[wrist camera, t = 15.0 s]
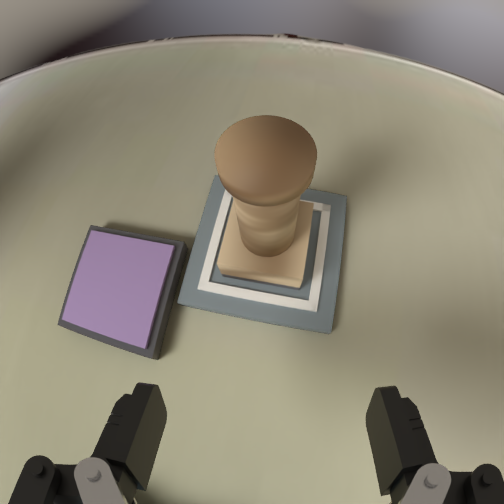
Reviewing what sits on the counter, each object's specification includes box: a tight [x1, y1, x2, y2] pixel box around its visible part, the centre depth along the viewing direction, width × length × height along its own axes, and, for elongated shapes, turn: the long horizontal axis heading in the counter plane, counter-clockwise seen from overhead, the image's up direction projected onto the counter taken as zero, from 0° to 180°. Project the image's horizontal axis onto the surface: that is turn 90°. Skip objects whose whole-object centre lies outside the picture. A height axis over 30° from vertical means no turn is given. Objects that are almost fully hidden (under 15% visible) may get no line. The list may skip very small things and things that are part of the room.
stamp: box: [214, 115, 317, 290], centre depth 16 cm, size 5×5×10 cm
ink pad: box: [58, 225, 188, 360], centre depth 20 cm, size 8×8×2 cm
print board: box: [177, 175, 347, 334], centre depth 21 cm, size 10×10×1 cm
